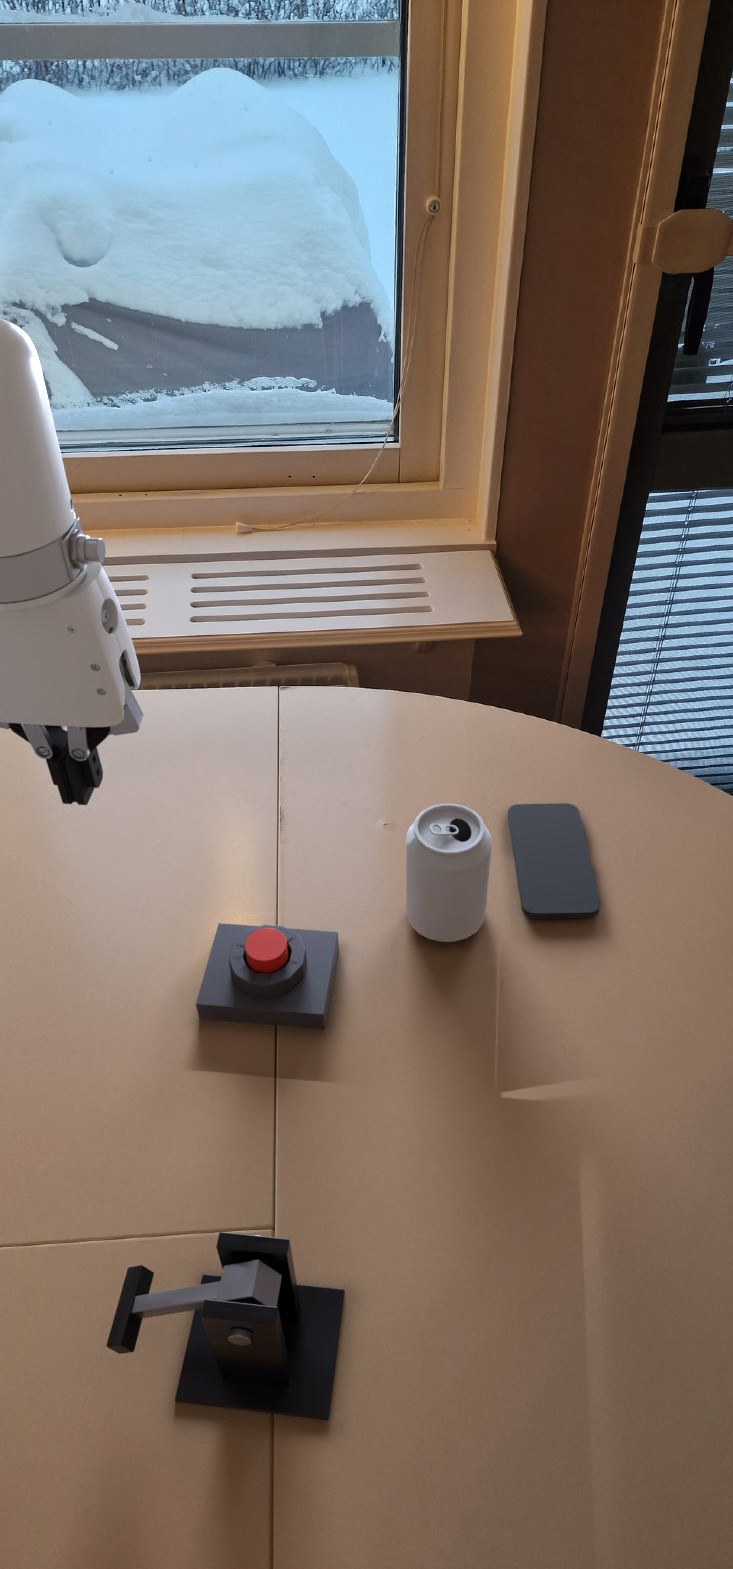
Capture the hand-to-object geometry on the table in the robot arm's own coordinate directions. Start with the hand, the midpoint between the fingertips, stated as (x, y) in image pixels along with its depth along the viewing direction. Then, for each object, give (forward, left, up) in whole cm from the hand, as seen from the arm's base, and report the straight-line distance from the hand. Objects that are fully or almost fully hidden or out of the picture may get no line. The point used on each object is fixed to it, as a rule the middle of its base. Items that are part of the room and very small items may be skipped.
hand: (81, 790), depth 71 cm
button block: (+10, +5, -27) cm, 29 cm away
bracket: (+15, -25, -27) cm, 40 cm away
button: (+10, +5, -23) cm, 26 cm away
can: (+25, +14, -27) cm, 40 cm away
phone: (+35, +22, -27) cm, 49 cm away
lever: (+12, -25, -21) cm, 34 cm away
